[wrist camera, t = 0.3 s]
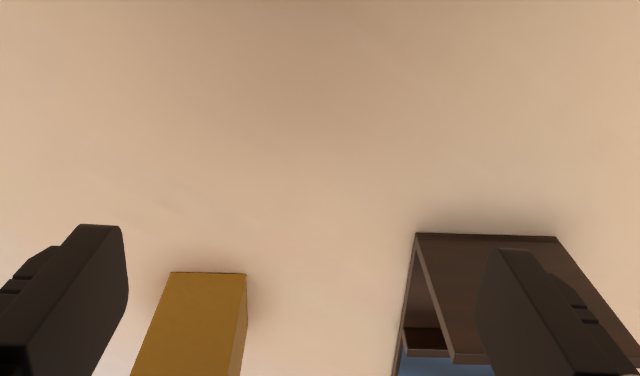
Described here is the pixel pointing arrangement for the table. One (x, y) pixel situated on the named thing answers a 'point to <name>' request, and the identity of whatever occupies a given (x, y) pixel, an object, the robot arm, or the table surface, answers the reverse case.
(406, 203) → the table surface
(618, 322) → the tray
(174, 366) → the parcel
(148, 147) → the table surface
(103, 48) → the table surface
